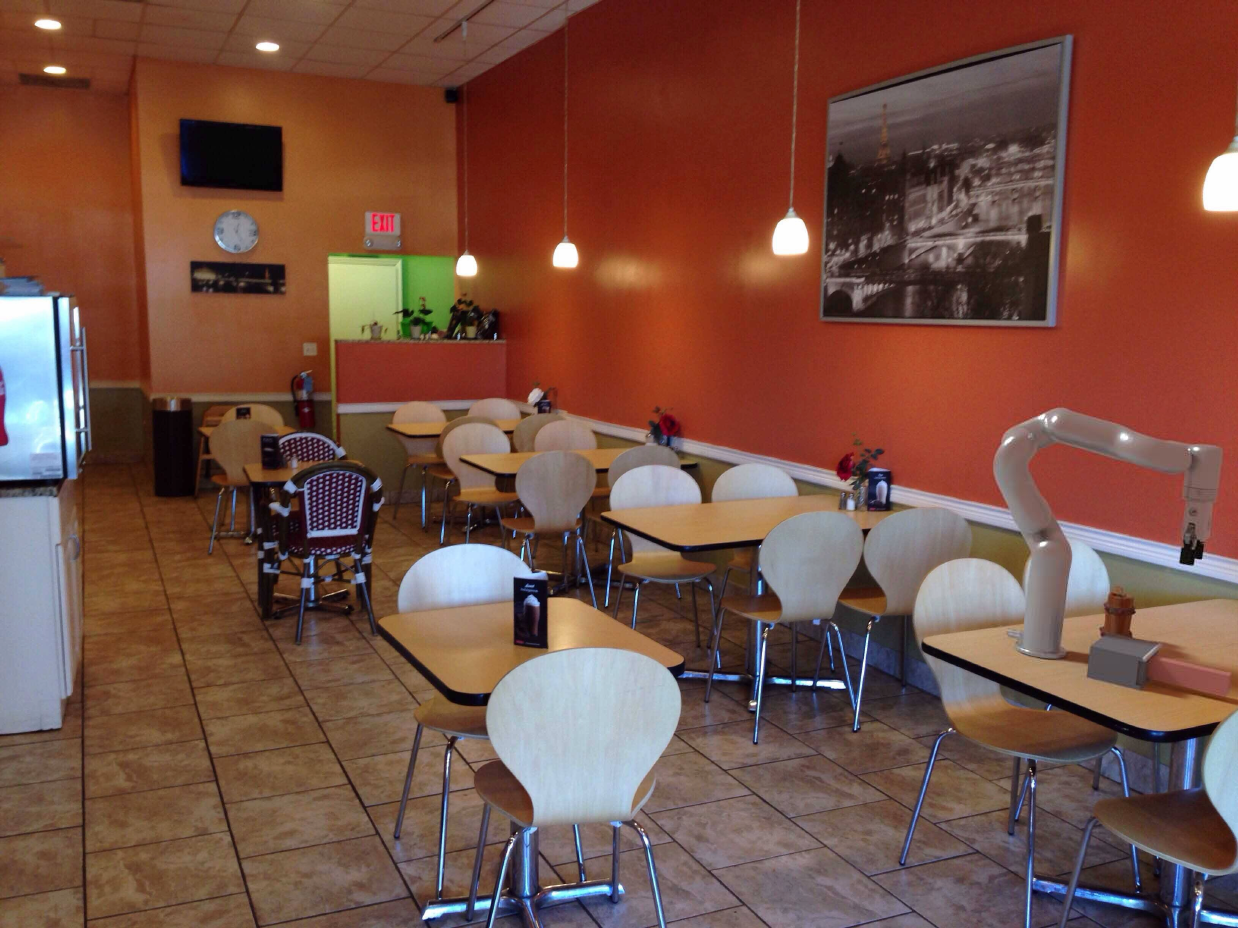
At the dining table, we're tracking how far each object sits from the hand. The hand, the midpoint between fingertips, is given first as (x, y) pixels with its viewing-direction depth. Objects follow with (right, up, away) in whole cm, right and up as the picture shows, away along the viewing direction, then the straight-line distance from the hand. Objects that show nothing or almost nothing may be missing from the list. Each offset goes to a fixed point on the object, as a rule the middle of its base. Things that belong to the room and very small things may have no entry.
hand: (1190, 561), depth 260 cm
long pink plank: (-8, -28, -11) cm, 32 cm away
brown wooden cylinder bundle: (-8, -25, +25) cm, 36 cm away
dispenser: (-19, -28, -2) cm, 34 cm away
